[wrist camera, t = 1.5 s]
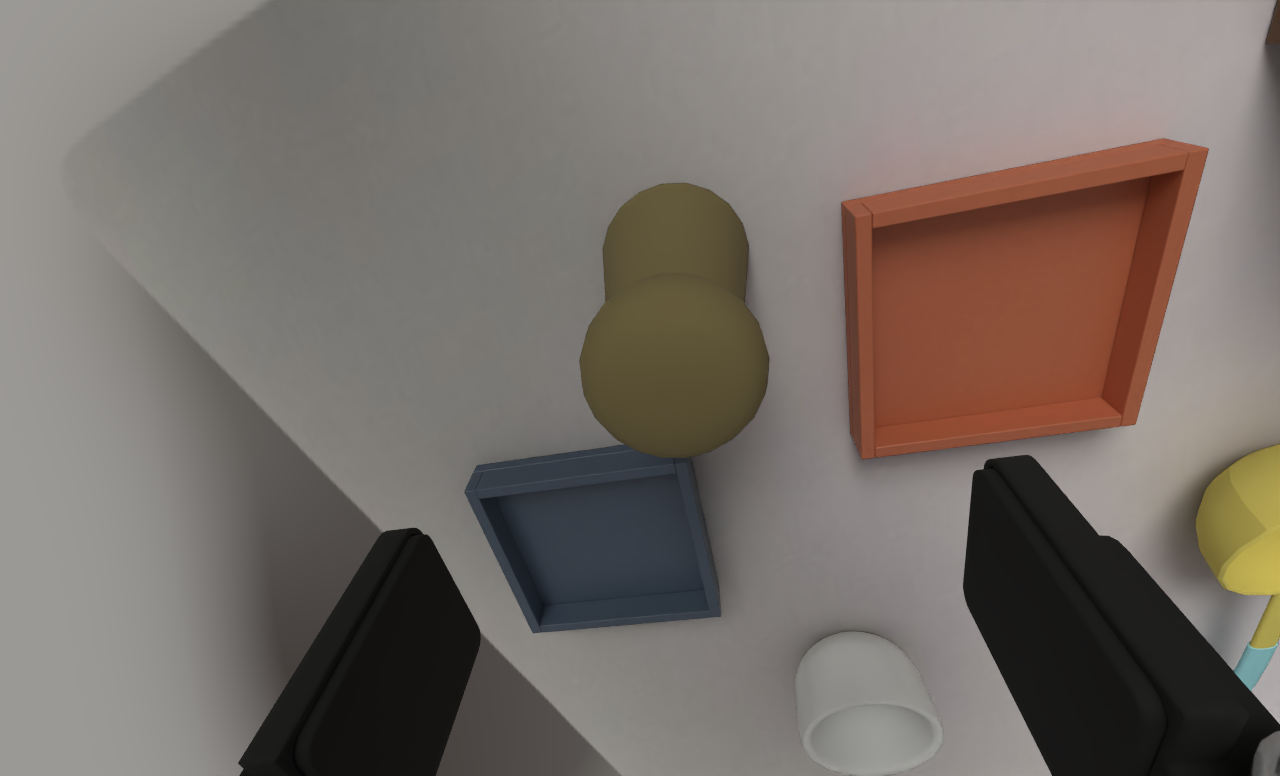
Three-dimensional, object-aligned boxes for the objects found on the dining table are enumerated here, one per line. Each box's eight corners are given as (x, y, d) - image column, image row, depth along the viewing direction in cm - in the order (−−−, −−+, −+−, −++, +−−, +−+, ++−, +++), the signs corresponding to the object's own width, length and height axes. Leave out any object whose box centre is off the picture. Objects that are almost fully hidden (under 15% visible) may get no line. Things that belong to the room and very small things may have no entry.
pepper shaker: (597, 315, 26) (550, 477, 16) (609, 172, 22) (559, 272, 13) (732, 332, 26) (764, 504, 16) (763, 193, 22) (824, 307, 13)
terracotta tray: (849, 432, 28) (861, 460, 26) (840, 201, 22) (854, 216, 21) (1105, 398, 26) (1136, 425, 24) (1164, 137, 21) (1210, 147, 19)
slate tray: (539, 603, 36) (532, 633, 34) (476, 464, 30) (463, 491, 29) (719, 586, 34) (721, 616, 32) (686, 435, 29) (687, 462, 27)
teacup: (770, 629, 36) (783, 716, 31) (896, 600, 34) (930, 689, 29) (815, 714, 41) (833, 801, 36) (929, 693, 39) (963, 782, 34)
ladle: (1415, 370, 24) (1593, 483, 20) (1208, 631, 41) (1278, 720, 37) (1176, 426, 25) (1292, 542, 21) (1074, 654, 43) (1126, 743, 38)
